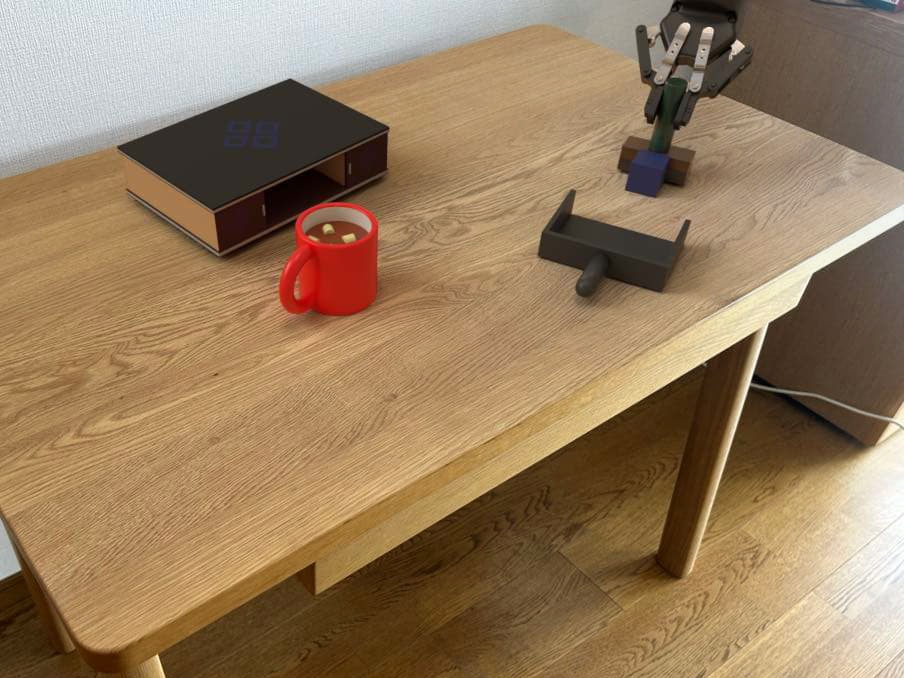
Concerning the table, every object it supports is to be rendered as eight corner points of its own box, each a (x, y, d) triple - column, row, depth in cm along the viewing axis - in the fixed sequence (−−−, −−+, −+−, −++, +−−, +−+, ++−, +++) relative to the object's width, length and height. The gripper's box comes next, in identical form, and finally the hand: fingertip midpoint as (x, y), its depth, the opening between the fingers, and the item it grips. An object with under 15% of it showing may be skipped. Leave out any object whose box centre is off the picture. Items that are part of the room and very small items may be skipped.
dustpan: (566, 214, 98) (571, 188, 96) (683, 246, 94) (691, 220, 91) (516, 287, 88) (520, 261, 86) (644, 326, 84) (652, 300, 82)
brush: (689, 174, 104) (716, 84, 96) (683, 185, 102) (710, 94, 94) (623, 157, 106) (645, 69, 98) (616, 168, 104) (637, 79, 97)
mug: (255, 316, 85) (248, 248, 79) (331, 259, 91) (329, 193, 86) (318, 348, 81) (315, 279, 76) (392, 286, 88) (394, 219, 83)
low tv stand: (388, 179, 103) (390, 126, 98) (220, 264, 91) (213, 208, 86) (293, 128, 112) (290, 77, 107) (127, 199, 99) (116, 146, 95)
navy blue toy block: (633, 176, 104) (640, 148, 101) (662, 183, 103) (670, 156, 100) (624, 190, 102) (631, 162, 99) (654, 198, 101) (662, 169, 98)
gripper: (656, -54, 95) (600, 98, 96) (788, -33, 91) (728, 126, 92) (657, -18, 102) (605, 123, 104) (779, 3, 98) (723, 151, 99)
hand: (663, 124), depth 98 cm, fingers closed on brush, 2 cm apart
